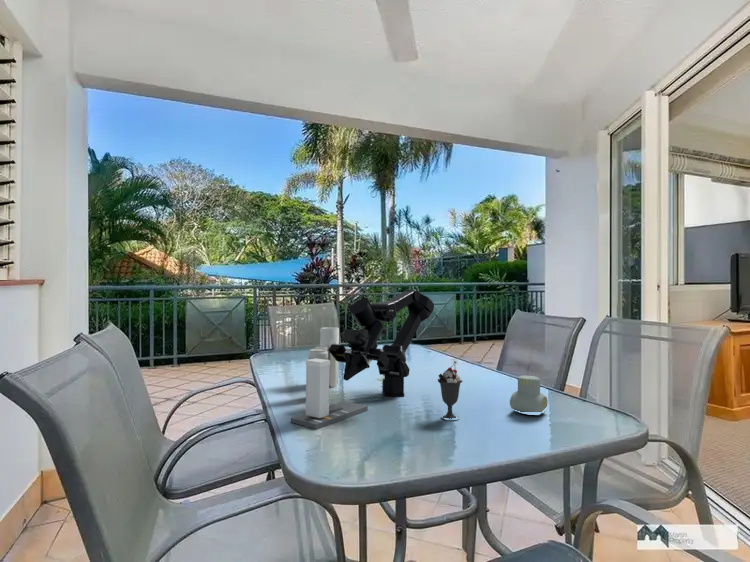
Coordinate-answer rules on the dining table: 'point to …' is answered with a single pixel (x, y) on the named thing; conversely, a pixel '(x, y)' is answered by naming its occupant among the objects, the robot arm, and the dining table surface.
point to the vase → (326, 340)
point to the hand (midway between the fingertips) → (345, 379)
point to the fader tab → (317, 387)
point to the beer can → (318, 354)
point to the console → (330, 415)
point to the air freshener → (528, 395)
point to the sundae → (449, 389)
